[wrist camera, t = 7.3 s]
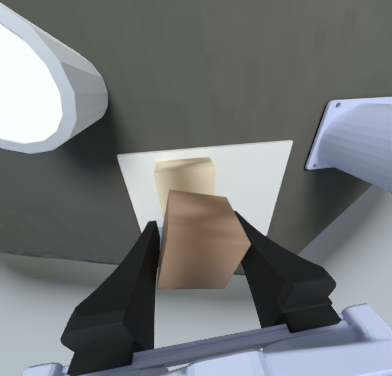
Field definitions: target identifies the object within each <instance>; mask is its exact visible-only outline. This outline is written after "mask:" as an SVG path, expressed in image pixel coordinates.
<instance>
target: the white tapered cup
mask: <svg viewBox="0 0 392 376" xmlns="http://www.w3.org/2000/svg"><path fill="white" fill-rule="evenodd" d="M107 107H108V92H107V89H106V86H105V83H104V81H103V78H102V77H101V75H100V74H99V73H98V71H97V70H96V68H95V67H94V66H93V64H92V63H90V62H89V61H88V60H86V59H85V58H84V57H82V56H81V55H80V54H79V53H77V52H76V51H74V50H72V49H71V48H69V47H68V46H66V45H65V44H63V43H62V42H60V41H59V40H57V39H56V38H54V37H52V36H51V35H49V34H48V33H46V32H45V31H43V30H42V29H40V28H39V27H37V26H35V25H34V24H32V23H31V22H29V21H28V20H26V19H25V18H23V17H22V16H20V15H19V14H17V13H15V12H14V11H12V10H11V9H9V8H8V7H6V6H5V5H3V4H2V3H0V147H1V148H3V149H8V150H14V151H19V152H25V153H30V154H31V153H37V152H44V151H51V150H54V149H55V148H57V147H58V146H60V145H61V144H63V143H64V142H66V141H68V140H69V139H71V138H72V137H74V136H75V135H77V134H78V133H80V132H81V131H83V130H84V129H86V128H87V127H89V126H90V125H92V124H93V123H95V122H96V121H97V120H99V119H100V118H102V117H103V116H104V114H105V111H106V109H107Z"/></svg>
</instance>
